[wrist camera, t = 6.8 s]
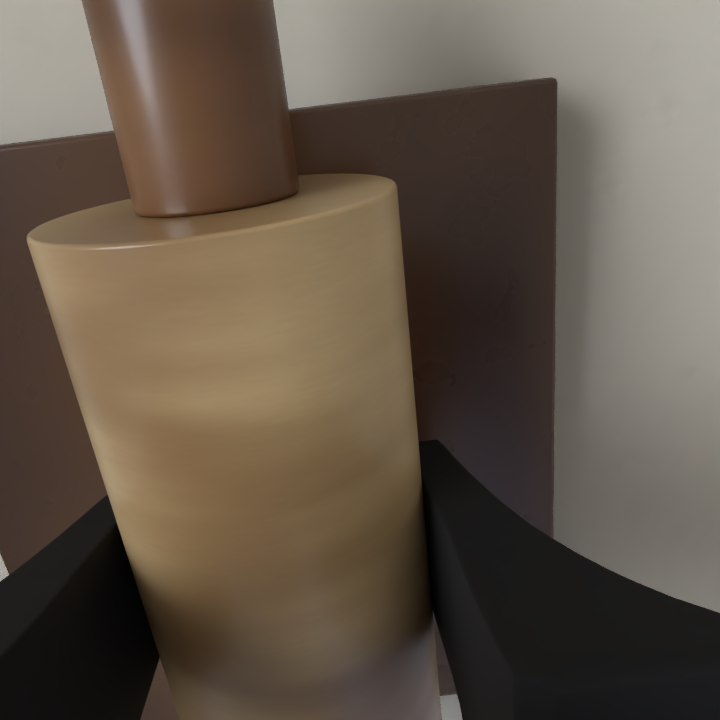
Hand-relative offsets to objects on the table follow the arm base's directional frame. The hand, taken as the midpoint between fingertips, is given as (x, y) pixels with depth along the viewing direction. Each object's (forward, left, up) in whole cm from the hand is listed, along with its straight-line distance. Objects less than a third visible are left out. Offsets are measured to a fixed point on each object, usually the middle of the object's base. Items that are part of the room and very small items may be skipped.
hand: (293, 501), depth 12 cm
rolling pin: (0, 0, +2) cm, 2 cm away
